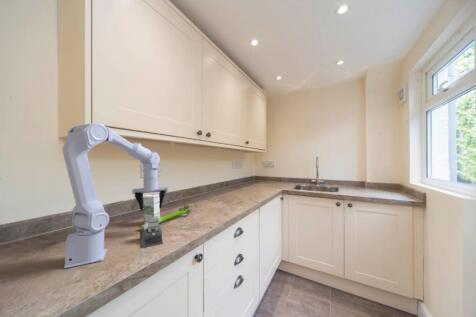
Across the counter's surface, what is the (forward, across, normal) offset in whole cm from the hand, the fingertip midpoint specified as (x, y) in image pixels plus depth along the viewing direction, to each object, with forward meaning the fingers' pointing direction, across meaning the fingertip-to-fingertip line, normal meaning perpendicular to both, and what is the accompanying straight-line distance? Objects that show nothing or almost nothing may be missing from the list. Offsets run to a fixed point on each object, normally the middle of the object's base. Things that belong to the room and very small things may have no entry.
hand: (151, 208), depth 82 cm
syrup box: (+11, +2, -12) cm, 16 cm away
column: (+10, -2, +8) cm, 13 cm away
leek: (+11, -7, -12) cm, 18 cm away
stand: (+10, -1, +7) cm, 12 cm away
